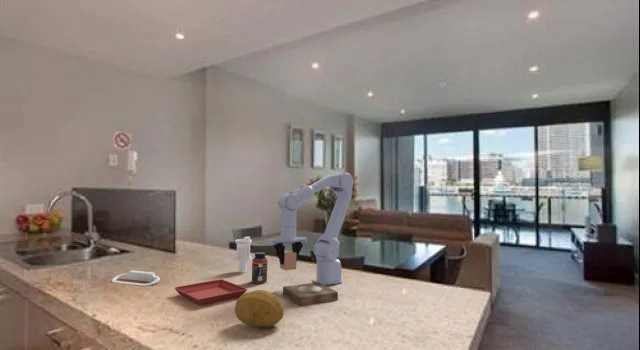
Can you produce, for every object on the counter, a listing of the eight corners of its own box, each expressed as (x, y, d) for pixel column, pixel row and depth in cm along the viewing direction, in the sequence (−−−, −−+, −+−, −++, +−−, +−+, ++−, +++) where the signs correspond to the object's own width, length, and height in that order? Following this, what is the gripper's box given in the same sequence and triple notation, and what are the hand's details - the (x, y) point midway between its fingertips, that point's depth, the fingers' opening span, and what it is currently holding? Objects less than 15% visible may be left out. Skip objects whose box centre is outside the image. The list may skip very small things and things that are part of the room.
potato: (275, 298, 93) (286, 285, 102) (227, 297, 96) (242, 284, 105) (277, 335, 93) (289, 318, 102) (229, 332, 96) (244, 316, 105)
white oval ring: (107, 286, 141) (106, 277, 140) (124, 276, 149) (122, 268, 148) (150, 291, 135) (148, 282, 134) (165, 281, 143) (164, 272, 142)
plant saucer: (221, 287, 137) (221, 278, 137) (248, 298, 124) (248, 288, 124) (173, 297, 124) (173, 287, 125) (197, 310, 112) (198, 299, 112)
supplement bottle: (264, 284, 140) (264, 254, 141) (249, 283, 142) (249, 253, 142) (269, 280, 146) (269, 251, 147) (255, 279, 147) (255, 251, 148)
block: (291, 266, 138) (291, 250, 138) (296, 269, 134) (296, 252, 134) (280, 267, 136) (280, 251, 136) (284, 270, 132) (285, 253, 132)
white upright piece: (254, 271, 161) (255, 237, 162) (243, 274, 155) (243, 239, 156) (242, 269, 165) (243, 235, 166) (231, 272, 159) (231, 237, 160)
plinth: (318, 289, 135) (318, 281, 135) (337, 299, 123) (337, 291, 123) (282, 293, 128) (282, 286, 128) (299, 305, 116) (300, 296, 116)
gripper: (274, 228, 128) (273, 267, 128) (311, 226, 135) (310, 263, 135) (267, 226, 134) (266, 263, 134) (302, 224, 141) (302, 260, 141)
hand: (288, 263), depth 135 cm, fingers closed on block, 4 cm apart
